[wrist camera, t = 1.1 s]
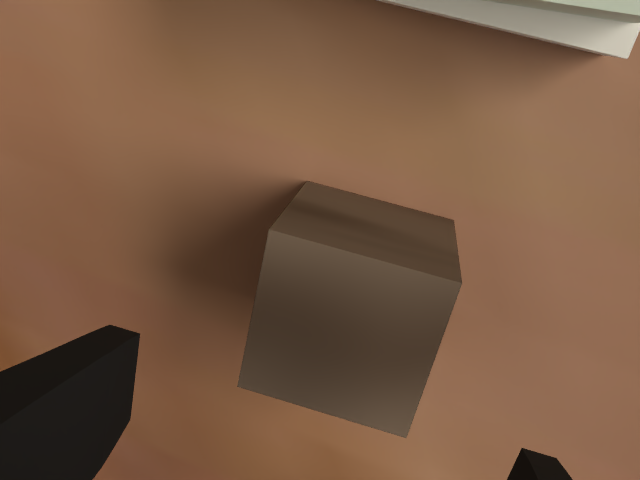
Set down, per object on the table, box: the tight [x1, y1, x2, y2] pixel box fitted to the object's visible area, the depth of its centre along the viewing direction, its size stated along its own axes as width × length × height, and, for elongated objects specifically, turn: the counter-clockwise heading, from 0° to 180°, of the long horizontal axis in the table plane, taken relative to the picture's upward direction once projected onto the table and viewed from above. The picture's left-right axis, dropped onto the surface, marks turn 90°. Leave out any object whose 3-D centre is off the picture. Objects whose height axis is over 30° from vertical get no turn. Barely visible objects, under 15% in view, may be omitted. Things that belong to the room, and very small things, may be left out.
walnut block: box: [237, 181, 462, 438], centre depth 16 cm, size 4×4×4 cm
